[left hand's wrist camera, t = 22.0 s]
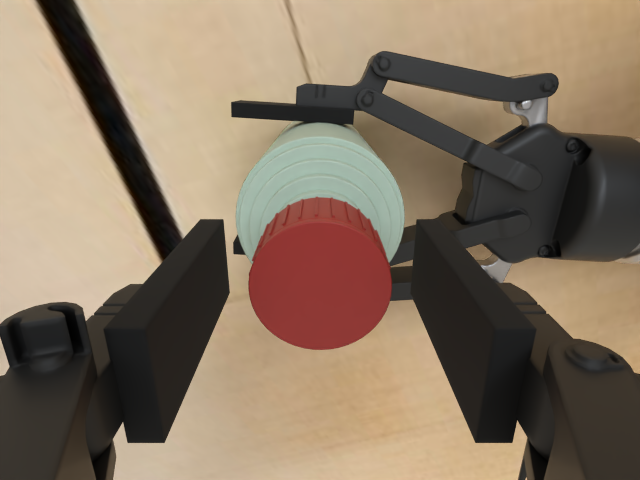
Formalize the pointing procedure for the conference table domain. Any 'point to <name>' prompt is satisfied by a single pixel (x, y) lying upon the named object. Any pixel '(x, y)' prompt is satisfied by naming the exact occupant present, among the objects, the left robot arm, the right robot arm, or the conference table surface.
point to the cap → (320, 275)
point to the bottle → (320, 181)
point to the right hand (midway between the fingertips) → (237, 178)
